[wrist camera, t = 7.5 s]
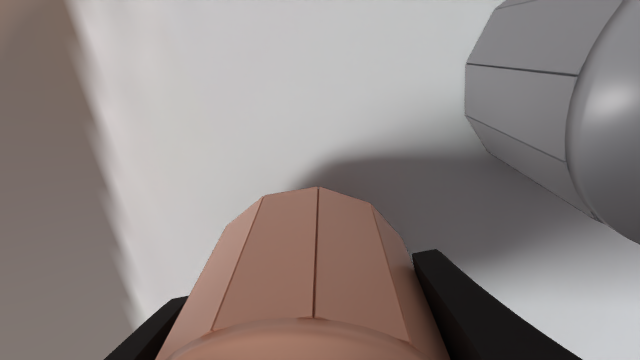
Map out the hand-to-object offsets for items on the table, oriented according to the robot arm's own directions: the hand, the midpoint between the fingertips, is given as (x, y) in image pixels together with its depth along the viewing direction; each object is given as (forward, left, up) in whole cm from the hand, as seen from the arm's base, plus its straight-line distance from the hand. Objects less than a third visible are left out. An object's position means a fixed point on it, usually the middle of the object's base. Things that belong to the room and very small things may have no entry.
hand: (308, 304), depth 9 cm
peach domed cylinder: (0, 0, -1) cm, 1 cm away
